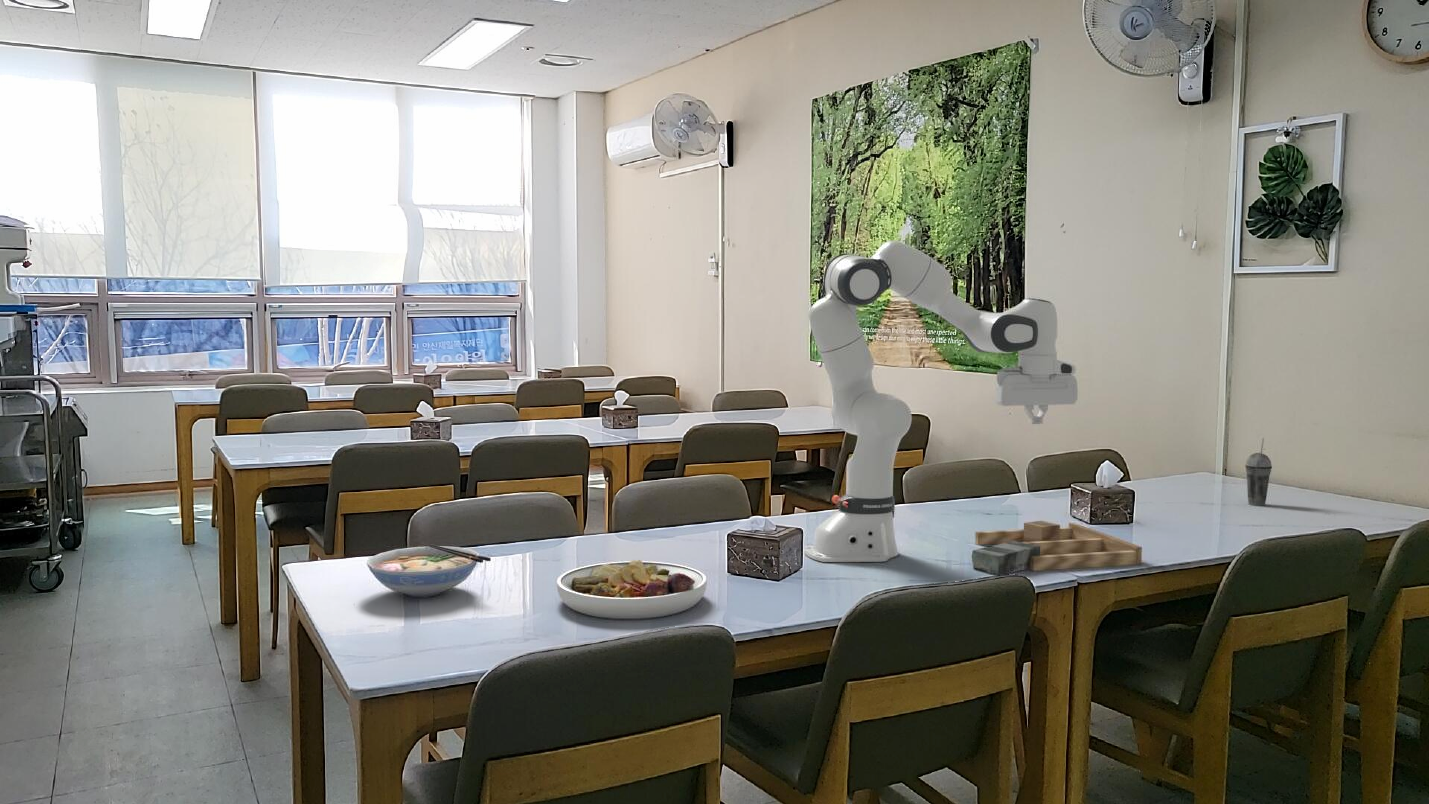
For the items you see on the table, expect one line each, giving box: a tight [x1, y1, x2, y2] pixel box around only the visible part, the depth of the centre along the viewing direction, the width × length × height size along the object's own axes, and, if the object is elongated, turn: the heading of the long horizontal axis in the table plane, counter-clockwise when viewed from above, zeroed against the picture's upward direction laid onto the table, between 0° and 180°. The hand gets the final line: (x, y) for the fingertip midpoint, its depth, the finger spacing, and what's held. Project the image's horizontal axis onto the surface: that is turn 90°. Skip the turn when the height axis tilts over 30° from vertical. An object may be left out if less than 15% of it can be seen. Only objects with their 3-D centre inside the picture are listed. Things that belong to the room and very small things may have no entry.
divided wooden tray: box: [974, 522, 1143, 572], centre depth 262 cm, size 28×28×4 cm
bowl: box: [556, 559, 708, 620], centre depth 220 cm, size 30×30×8 cm
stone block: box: [971, 541, 1041, 576], centre depth 248 cm, size 9×14×5 cm, turn 124°
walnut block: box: [1023, 520, 1061, 542], centre depth 269 cm, size 6×6×6 cm
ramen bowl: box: [366, 541, 491, 598], centre depth 226 cm, size 25×23×8 cm
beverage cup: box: [1244, 438, 1273, 507], centre depth 326 cm, size 7×7×20 cm
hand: (1035, 423), depth 263 cm, fingers closed
